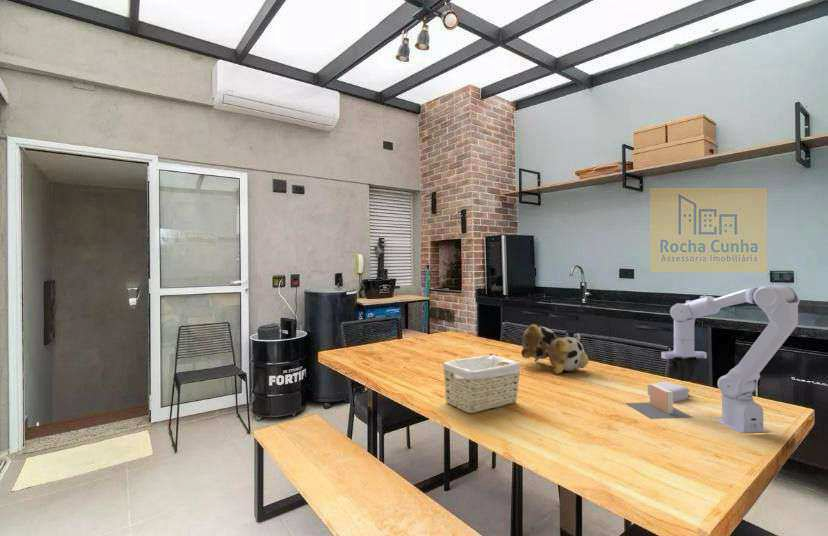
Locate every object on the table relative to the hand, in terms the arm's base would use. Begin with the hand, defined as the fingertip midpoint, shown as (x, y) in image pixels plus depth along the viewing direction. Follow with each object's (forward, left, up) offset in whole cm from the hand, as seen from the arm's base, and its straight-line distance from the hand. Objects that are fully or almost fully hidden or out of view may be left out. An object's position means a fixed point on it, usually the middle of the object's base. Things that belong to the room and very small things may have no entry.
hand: (683, 379), depth 133 cm
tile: (0, +8, -10) cm, 12 cm away
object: (+11, +66, -10) cm, 68 cm away
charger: (+13, -5, -10) cm, 17 cm away
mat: (-1, +10, -10) cm, 14 cm away
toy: (+55, +22, -10) cm, 60 cm away
